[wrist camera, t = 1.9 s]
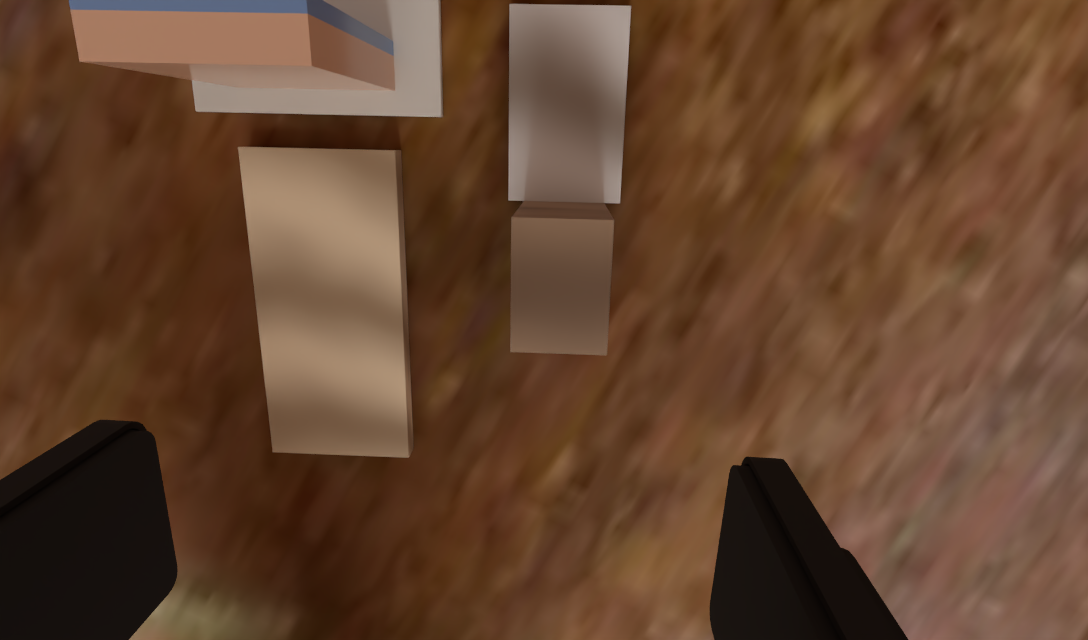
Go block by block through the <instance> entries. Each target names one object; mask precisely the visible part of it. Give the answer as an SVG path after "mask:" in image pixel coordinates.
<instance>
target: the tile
mask: <svg viewBox="0 0 1088 640" xmlns="http://www.w3.org/2000/svg"><path fill="white" fill-rule="evenodd" d="M69 5H70V10H71V16H72V21H73V27H74V33H75V38H76V44H77V50H78V55H79V61H80V62H86V63H92V64H98V65H104V66H110V67H116V68H122V69H128V70H134V71H140V72H146V73H152V74H158V75H164V76H170V77H176V78H182V79H188V80H194V81H200V82H207V83H213V84H219V85H225V86H231V87H237V88H280V89H328V90H377V91H395V71H394V48H393V41H392V40H391V39H389V38H387V37H385V36H384V35H382V34H380V33H379V32H377V31H375V30H373V29H372V28H370V27H368V26H366V25H365V24H363V23H361V22H360V21H358V20H356V19H354V18H353V17H351V16H349V15H347V14H346V13H344V12H342V11H341V10H339V9H337V8H335V7H334V6H332V5H330V4H328V3H327V2H325V1H323V0H69Z"/></svg>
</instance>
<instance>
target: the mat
mask: <svg viewBox="0 0 1088 640" xmlns="http://www.w3.org/2000/svg"><path fill="white" fill-rule="evenodd" d="M323 1H325V2H327V3H328V4H330V5H332V6H334V7H335V8H337V9H339V10H341V11H342V12H344V13H346V14H347V15H349V16H351V17H353V18H354V19H356V20H358V21H360V22H361V23H363V24H365V25H366V26H368V27H370V28H372V29H373V30H375V31H377V32H379V33H380V34H382V35H384V36H385V37H387V38H389V39H391V40H392V41H393V48H394V71H395V91H377V90H328V89H280V88H237V87H231V86H225V85H219V84H213V83H207V82H200V81H194V80H192V86H193V94H194V102H195V109H196V111H197V112H230V113H275V114H321V115H366V116H412V117H443V89H442V45H441V2H440V0H323Z"/></svg>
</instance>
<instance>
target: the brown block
mask: <svg viewBox="0 0 1088 640" xmlns="http://www.w3.org/2000/svg"><path fill="white" fill-rule="evenodd" d="M630 17H631V6H615V5H553V4H510V14H509V187H508V201H524V202H523V203H522V204H521V205H520V207H519V208H518V209H517V211H516V212H515V213H514V214H513V216H512V217H511V334H510V352H524V353H554V354H583V355H607V345H608V326H609V308H610V289H611V271H612V252H613V234H614V219H613V217H612V215H611V214H610V212H609V210H608V209H607V207H606V205H605V203H620V194H621V177H622V159H623V141H624V124H625V106H626V88H627V70H628V53H629V35H630Z"/></svg>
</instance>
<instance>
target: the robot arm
mask: <svg viewBox="0 0 1088 640" xmlns="http://www.w3.org/2000/svg"><path fill="white" fill-rule="evenodd" d="M176 578H177V562H176V556H175V551H174V545H173V539H172V533H171V528H170V522H169V516H168V510H167V504H166V499H165V493H164V487H163V481H162V476H161V470H160V464H159V458H158V452H157V447H156V441H155V438H154V436H153V435H152V433H150V432H148V431H147V430H146V428H145V427H144V426H143V424H141V423H139V422H133V421H115V420H99V421H96V422H94V423H92V424H91V425H89V426H87V427H86V428H84V429H82V430H81V431H79V432H78V433H76V434H74V435H73V436H71V437H69V438H68V439H66V440H65V441H63V442H61V443H60V444H58V445H56V446H55V447H53V448H51V449H50V450H48V451H47V452H45V453H43V454H42V455H40V456H38V457H37V458H35V459H34V460H32V461H30V462H29V463H27V464H25V465H24V466H22V467H21V468H19V469H17V470H16V471H14V472H12V473H11V474H9V475H8V476H6V477H4V478H3V479H1V480H0V640H129V639H130V638H131V636H132V635H133V634H134V633H135V632H136V631H137V630H138V628H139V627H140V626H141V625H142V624H143V623H144V621H145V620H146V619H147V618H148V617H149V616H150V615H151V613H152V612H153V611H154V610H155V609H156V608H157V607H158V605H159V604H160V603H161V602H162V601H163V600H164V598H165V597H166V596H167V595H168V594H169V592H170V591H171V590H172V588H173V586H174V584H175V581H176ZM710 622H711V628H712V632H713V635H714V639H715V640H908V638H907V637H906V635H905V634H904V632H903V631H902V629H901V628H900V626H899V625H898V623H897V622H896V620H895V619H894V617H893V615H892V614H891V612H890V611H889V609H888V608H887V606H886V605H885V603H884V602H883V600H882V599H881V597H880V596H879V594H878V592H877V591H876V589H875V588H874V586H873V585H872V583H871V582H870V580H869V579H868V577H867V576H866V574H865V573H864V571H863V570H862V568H861V566H860V565H859V563H858V562H857V560H856V559H855V558H854V556H853V555H852V554H851V553H850V552H849V551H848V550H846V549H844V548H840V546H839V545H838V543H837V542H836V540H835V539H834V537H833V535H832V534H831V532H830V531H829V529H828V527H827V526H826V524H825V523H824V521H823V520H822V518H821V516H820V515H819V513H818V512H817V510H816V509H815V507H814V505H813V504H812V502H811V501H810V499H809V498H808V496H807V494H806V493H805V491H804V490H803V488H802V486H801V485H800V483H799V482H798V480H797V479H796V477H795V475H794V474H793V472H792V471H791V469H790V468H789V466H788V464H787V463H786V462H785V461H784V459H776V458H759V457H746V458H744V460H743V462H742V465H741V466H738V465H733V466H732V467H731V469H730V473H729V479H728V486H727V492H726V499H725V506H724V513H723V519H722V526H721V533H720V539H719V546H718V553H717V560H716V566H715V573H714V580H713V586H712V593H711V600H710Z"/></svg>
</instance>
